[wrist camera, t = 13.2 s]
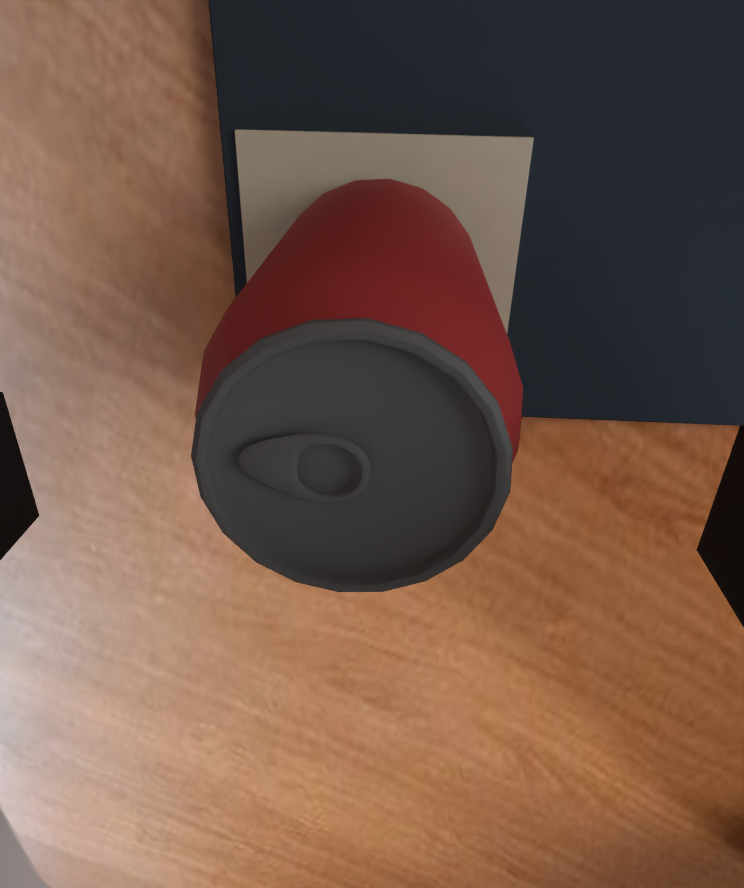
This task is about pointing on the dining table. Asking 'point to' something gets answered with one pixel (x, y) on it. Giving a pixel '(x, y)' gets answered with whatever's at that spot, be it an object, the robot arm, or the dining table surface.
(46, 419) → the dining table surface
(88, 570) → the dining table surface
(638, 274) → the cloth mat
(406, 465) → the beer can
